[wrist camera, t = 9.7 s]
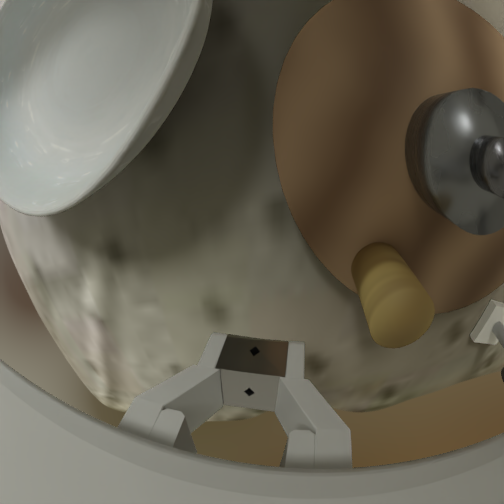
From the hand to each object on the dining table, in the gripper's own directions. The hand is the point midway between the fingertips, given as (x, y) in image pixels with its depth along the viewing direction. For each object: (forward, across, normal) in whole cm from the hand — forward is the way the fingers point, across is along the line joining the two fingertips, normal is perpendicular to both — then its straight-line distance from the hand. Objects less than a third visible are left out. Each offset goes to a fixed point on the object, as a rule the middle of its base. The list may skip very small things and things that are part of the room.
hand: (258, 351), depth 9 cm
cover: (+7, -10, -7) cm, 14 cm away
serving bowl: (+10, +13, -14) cm, 21 cm away
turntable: (+9, -10, -7) cm, 15 cm away
